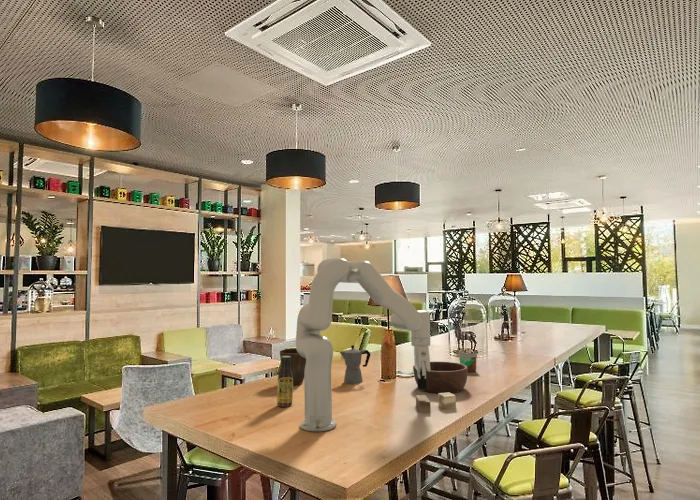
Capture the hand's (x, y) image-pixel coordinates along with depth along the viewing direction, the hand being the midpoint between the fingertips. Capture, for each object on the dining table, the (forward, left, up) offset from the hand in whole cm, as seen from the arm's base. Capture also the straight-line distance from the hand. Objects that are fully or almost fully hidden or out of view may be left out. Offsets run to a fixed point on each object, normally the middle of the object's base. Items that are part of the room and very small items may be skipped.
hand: (422, 388), depth 179 cm
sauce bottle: (+8, +55, -8) cm, 56 cm away
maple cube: (+1, -10, -8) cm, 13 cm away
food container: (+69, -36, -8) cm, 78 cm away
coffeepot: (+48, +25, -8) cm, 55 cm away
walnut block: (+4, 0, -6) cm, 7 cm away
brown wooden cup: (+47, +55, -8) cm, 73 cm away
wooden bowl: (+31, -14, -8) cm, 35 cm away
